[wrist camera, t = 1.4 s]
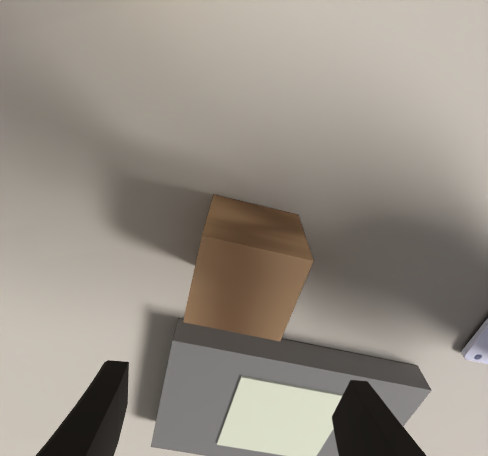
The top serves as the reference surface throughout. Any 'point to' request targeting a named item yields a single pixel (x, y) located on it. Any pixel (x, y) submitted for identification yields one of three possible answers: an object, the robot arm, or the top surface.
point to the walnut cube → (248, 269)
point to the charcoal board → (267, 393)
